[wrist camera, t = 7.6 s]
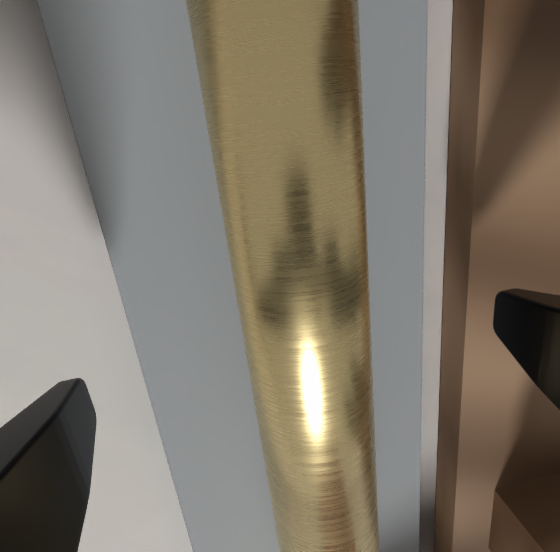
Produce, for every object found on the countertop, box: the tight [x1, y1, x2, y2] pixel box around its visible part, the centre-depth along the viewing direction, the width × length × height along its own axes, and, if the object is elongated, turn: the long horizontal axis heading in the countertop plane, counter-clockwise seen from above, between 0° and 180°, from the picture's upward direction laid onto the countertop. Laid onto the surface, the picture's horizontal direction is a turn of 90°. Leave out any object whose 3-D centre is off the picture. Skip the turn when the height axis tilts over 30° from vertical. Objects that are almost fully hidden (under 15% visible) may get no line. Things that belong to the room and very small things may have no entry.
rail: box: [186, 0, 379, 552], centre depth 10 cm, size 24×3×3 cm, turn 7°
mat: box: [37, 0, 427, 552], centre depth 12 cm, size 8×26×1 cm, turn 7°
